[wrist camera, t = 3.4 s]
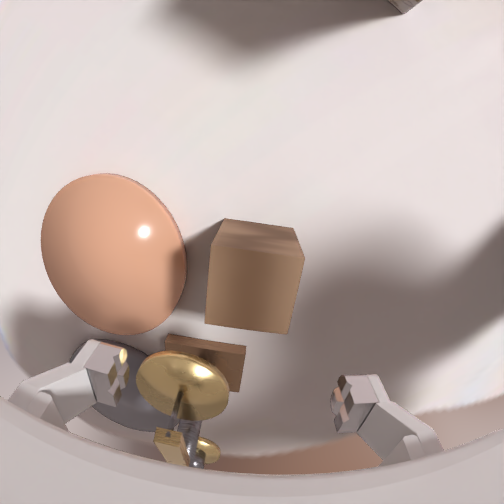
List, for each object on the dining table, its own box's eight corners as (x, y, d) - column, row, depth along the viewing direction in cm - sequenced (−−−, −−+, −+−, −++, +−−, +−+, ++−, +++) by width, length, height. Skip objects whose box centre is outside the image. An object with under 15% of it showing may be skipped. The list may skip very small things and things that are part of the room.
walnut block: (293, 228, 21) (304, 258, 15) (281, 289, 23) (287, 334, 17) (224, 218, 21) (210, 244, 15) (217, 280, 22) (204, 323, 17)
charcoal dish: (184, 356, 25) (181, 365, 24) (186, 434, 30) (184, 441, 29) (62, 325, 25) (56, 331, 24) (88, 406, 30) (84, 412, 29)
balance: (257, 278, 22) (251, 428, 9) (233, 421, 28) (222, 526, 16) (168, 265, 22) (83, 390, 9) (172, 410, 28) (144, 511, 16)
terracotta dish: (193, 180, 20) (189, 182, 19) (184, 340, 25) (181, 348, 23) (45, 171, 19) (37, 173, 18) (58, 310, 24) (52, 315, 23)
